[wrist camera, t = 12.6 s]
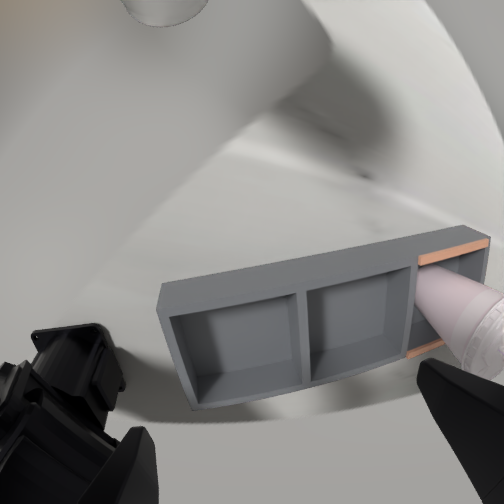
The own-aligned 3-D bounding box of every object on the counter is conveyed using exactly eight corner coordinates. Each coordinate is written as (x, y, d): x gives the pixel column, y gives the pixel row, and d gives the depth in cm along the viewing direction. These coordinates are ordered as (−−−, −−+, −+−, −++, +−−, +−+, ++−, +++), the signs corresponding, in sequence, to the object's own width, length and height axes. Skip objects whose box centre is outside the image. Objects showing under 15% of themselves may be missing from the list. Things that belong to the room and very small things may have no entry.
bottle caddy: (191, 379, 23) (192, 413, 20) (162, 283, 20) (155, 312, 17) (454, 309, 26) (478, 328, 22) (466, 224, 23) (496, 237, 19)
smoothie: (402, 248, 22) (546, 349, 9) (458, 246, 23) (584, 322, 10) (387, 322, 24) (492, 441, 11) (442, 312, 25) (543, 404, 12)
